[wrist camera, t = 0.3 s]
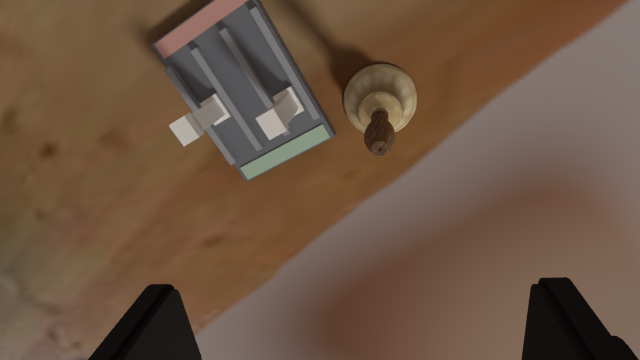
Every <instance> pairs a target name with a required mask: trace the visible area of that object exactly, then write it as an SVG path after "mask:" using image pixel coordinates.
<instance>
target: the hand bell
mask: <svg viewBox="0 0 640 360" xmlns="http://www.w3.org/2000/svg"><path fill="white" fill-rule="evenodd" d="M343 102H344V110H345V113H346V116H347V118H348V119H349V121H350V122H351V124H352V125H353V126H354V127H355V128H357V129H358V130H360V131H361V132H363V133H365V134H364V141H365V144H366V147H367V148H368V150H369V151H370V152H372V153H373V154H374V155H375V156H378V157H382V156H384V155H385V154H386V153H387V152H389V151H390V150H391V149H392V147H393V145H394V143H395V132H397V131H399V130H400V129H402V128H403V127H404V126H406V124H407V123H408V122H409V121H410V120H411V118H412V116H413V114H414V112H415V109H416V105H417V92H416V88H415V85H414V83H413V81H412V80H411V78H410V77H409V76H408V75H407V74H406V73H405V72H404V71H403V70H401V69H400V68H398V67H396V66H393V65H389V64H374V65H370V66H367V67H365V68H363V69H361V70H360V71H358V72H357V73H356V74H355V75H354V76H353V77H352V78H351V80H350V81H349V83H348V85H347V87H346V89H345V93H344V98H343Z"/></svg>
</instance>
